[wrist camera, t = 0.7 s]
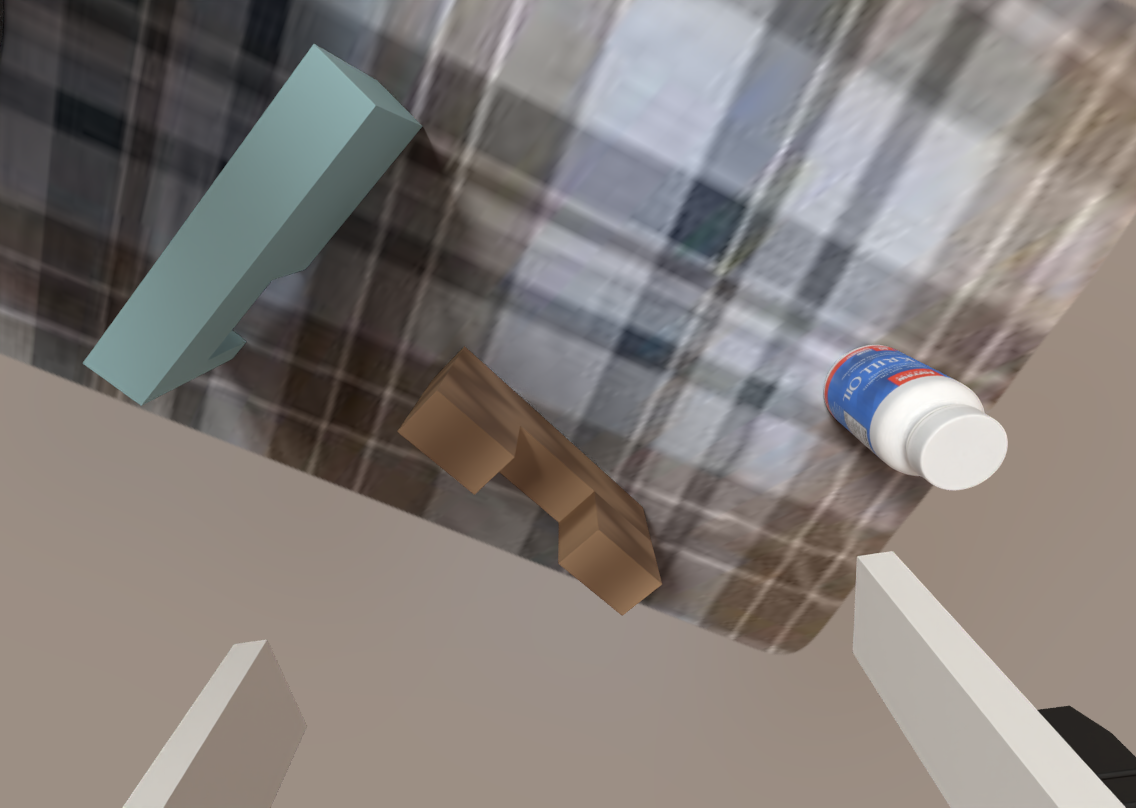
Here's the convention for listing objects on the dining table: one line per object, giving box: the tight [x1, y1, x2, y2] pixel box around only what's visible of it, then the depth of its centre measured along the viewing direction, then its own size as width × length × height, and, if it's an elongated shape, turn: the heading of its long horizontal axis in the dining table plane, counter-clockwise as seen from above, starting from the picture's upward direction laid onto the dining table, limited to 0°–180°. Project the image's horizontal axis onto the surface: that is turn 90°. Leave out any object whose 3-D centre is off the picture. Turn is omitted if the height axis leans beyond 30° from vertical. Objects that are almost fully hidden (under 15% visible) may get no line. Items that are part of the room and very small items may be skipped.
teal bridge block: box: [83, 44, 422, 406], centre depth 28 cm, size 3×18×8 cm, turn 135°
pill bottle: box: [824, 345, 1008, 490], centre depth 31 cm, size 6×5×10 cm
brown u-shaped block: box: [397, 346, 662, 615], centre depth 33 cm, size 16×3×8 cm, turn 45°
